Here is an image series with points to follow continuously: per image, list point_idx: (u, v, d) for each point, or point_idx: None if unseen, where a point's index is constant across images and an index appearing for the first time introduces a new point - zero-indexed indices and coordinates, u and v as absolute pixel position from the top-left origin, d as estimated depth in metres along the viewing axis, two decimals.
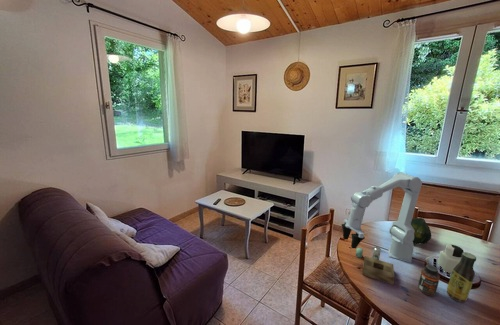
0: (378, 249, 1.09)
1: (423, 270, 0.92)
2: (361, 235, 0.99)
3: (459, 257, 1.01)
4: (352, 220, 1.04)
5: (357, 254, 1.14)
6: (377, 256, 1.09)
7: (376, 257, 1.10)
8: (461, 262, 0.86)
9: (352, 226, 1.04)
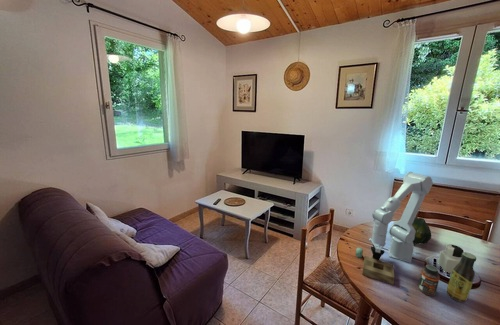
0: None
1: (423, 270, 0.92)
2: (377, 250, 1.03)
3: (459, 257, 1.01)
4: (373, 234, 1.08)
5: (357, 254, 1.14)
6: None
7: None
8: (461, 262, 0.86)
9: (373, 240, 1.08)
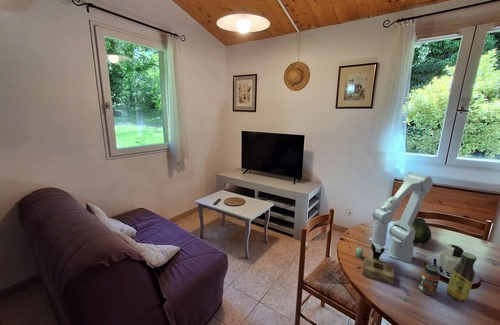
0: None
1: (423, 270, 0.92)
2: (377, 249, 1.03)
3: (459, 257, 1.01)
4: (373, 234, 1.08)
5: (357, 254, 1.14)
6: None
7: None
8: (461, 262, 0.86)
9: (373, 240, 1.08)
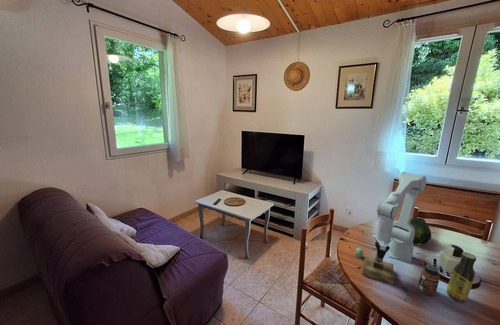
0: None
1: (423, 270, 0.92)
2: (382, 247, 0.94)
3: (459, 257, 1.01)
4: (377, 230, 0.98)
5: (357, 254, 1.14)
6: None
7: None
8: (461, 262, 0.86)
9: (377, 237, 0.99)
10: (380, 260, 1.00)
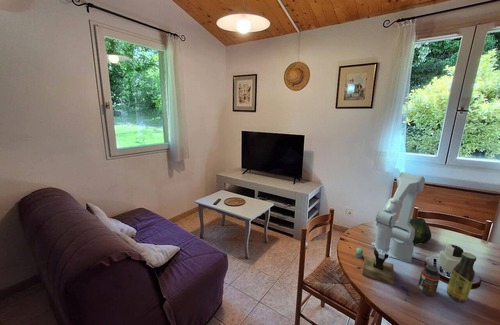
0: None
1: (423, 270, 0.92)
2: (380, 255, 0.94)
3: (459, 257, 1.01)
4: (376, 239, 0.99)
5: (357, 254, 1.14)
6: None
7: None
8: (461, 262, 0.86)
9: (376, 245, 1.00)
10: (379, 268, 1.01)
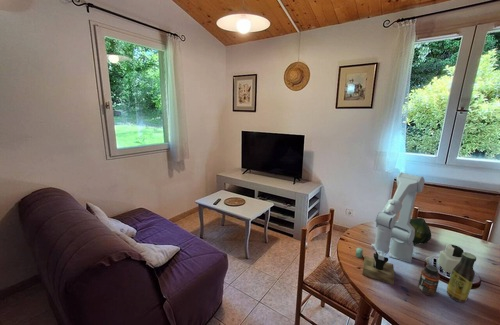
0: None
1: (423, 270, 0.92)
2: (380, 257, 0.95)
3: (459, 257, 1.01)
4: (376, 240, 1.00)
5: (357, 254, 1.14)
6: None
7: None
8: (461, 262, 0.86)
9: (376, 246, 1.00)
10: None
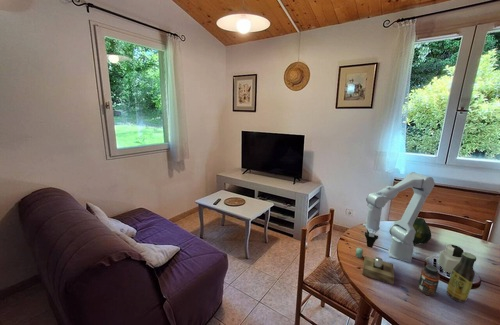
0: (380, 260, 1.01)
1: (423, 270, 0.92)
2: (370, 234, 1.02)
3: (459, 257, 1.01)
4: (367, 219, 1.07)
5: (357, 254, 1.14)
6: (379, 267, 1.01)
7: (378, 268, 1.02)
8: (461, 262, 0.86)
9: (367, 225, 1.07)
10: None
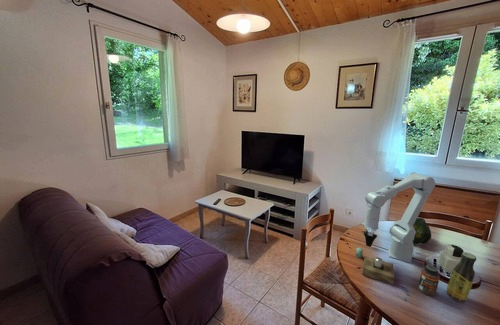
0: (380, 260, 1.01)
1: (423, 270, 0.92)
2: (369, 233, 1.03)
3: (459, 257, 1.01)
4: (366, 218, 1.07)
5: (357, 254, 1.14)
6: (379, 267, 1.01)
7: (377, 268, 1.02)
8: (461, 262, 0.86)
9: (366, 224, 1.08)
10: None
